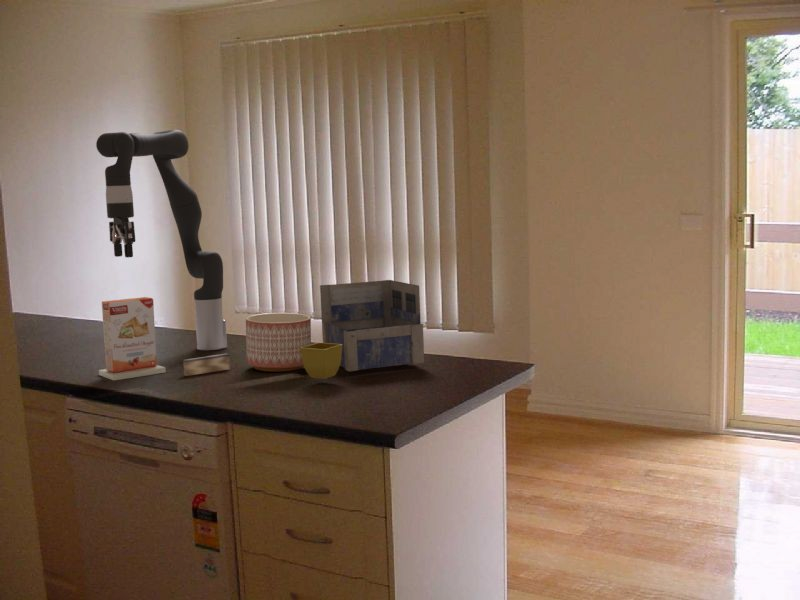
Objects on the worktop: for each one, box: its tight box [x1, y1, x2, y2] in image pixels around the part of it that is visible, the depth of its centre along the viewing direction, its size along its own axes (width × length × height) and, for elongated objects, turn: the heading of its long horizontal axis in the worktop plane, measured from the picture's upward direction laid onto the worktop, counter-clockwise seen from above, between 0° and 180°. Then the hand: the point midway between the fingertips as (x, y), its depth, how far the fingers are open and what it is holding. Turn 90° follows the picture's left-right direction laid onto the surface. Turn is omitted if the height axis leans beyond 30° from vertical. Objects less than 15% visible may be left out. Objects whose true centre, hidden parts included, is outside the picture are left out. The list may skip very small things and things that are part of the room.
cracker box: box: [101, 296, 158, 373], centre depth 281 cm, size 14×6×21 cm, turn 131°
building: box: [319, 279, 425, 372], centre depth 287 cm, size 23×24×23 cm
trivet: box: [98, 364, 167, 381], centre depth 282 cm, size 16×12×2 cm
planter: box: [245, 312, 312, 372], centre depth 282 cm, size 19×19×15 cm
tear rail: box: [182, 353, 231, 377], centre depth 280 cm, size 14×2×5 cm, turn 127°
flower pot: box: [300, 342, 342, 380], centre depth 265 cm, size 9×9×9 cm
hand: (123, 256), depth 278 cm, fingers open, 8 cm apart
